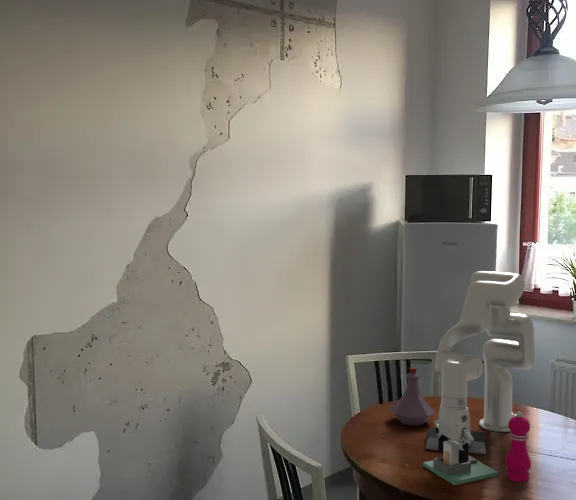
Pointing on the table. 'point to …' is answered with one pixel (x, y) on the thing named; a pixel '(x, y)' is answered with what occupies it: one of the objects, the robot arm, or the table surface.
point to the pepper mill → (518, 449)
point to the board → (460, 470)
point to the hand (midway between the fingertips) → (452, 456)
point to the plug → (451, 452)
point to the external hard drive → (478, 437)
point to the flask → (412, 403)
